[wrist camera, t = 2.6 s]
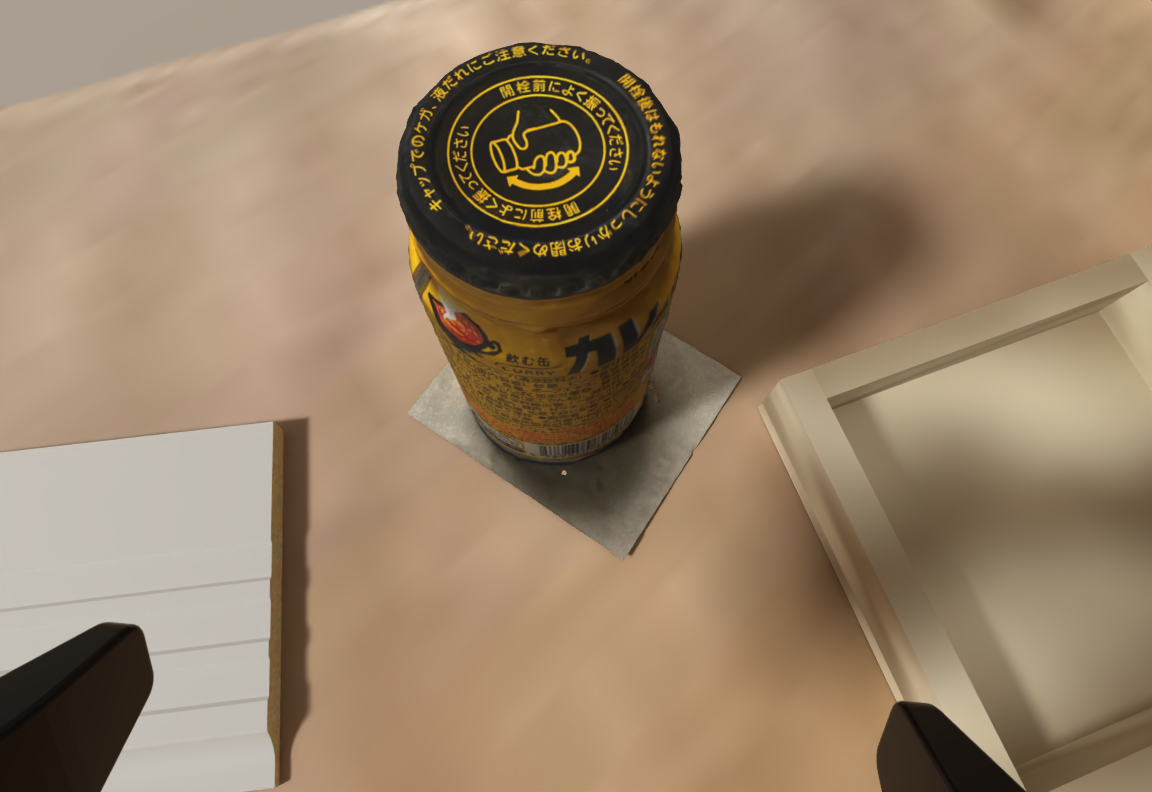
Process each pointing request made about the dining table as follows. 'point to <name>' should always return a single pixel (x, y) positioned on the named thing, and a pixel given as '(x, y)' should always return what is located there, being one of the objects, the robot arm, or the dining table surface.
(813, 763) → the dining table surface
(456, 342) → the condiment
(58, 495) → the baseboard molding
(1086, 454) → the caddy
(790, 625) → the dining table surface
